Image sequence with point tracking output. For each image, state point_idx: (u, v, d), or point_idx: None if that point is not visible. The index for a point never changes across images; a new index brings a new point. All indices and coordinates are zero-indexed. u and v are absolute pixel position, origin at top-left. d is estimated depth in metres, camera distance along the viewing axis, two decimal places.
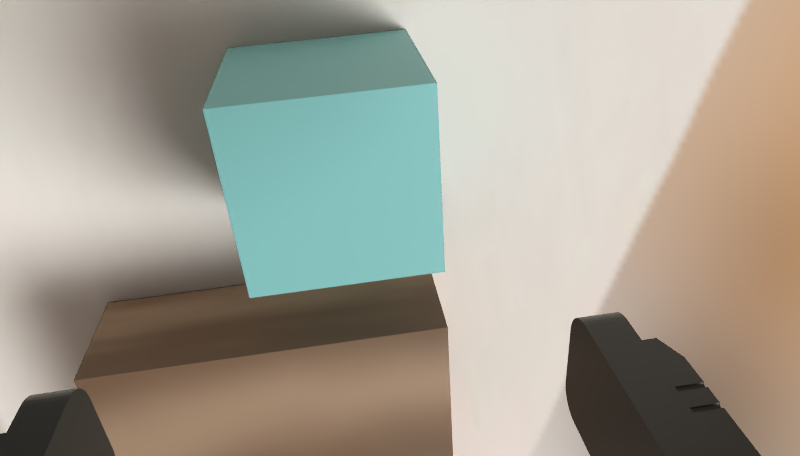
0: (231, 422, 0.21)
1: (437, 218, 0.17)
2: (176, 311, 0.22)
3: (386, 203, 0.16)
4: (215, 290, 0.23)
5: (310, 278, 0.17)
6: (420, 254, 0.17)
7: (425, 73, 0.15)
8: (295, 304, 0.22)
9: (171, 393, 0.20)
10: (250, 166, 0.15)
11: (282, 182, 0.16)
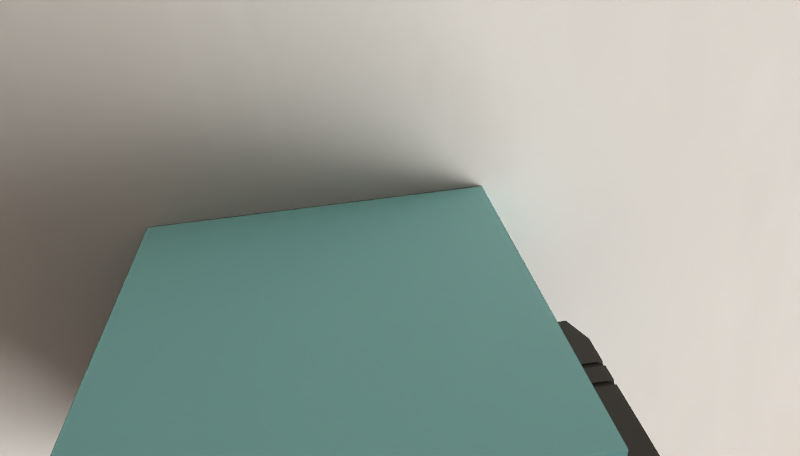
0: None
1: None
2: None
3: None
4: None
5: None
6: None
7: (580, 388, 0.06)
8: None
9: None
10: None
11: None
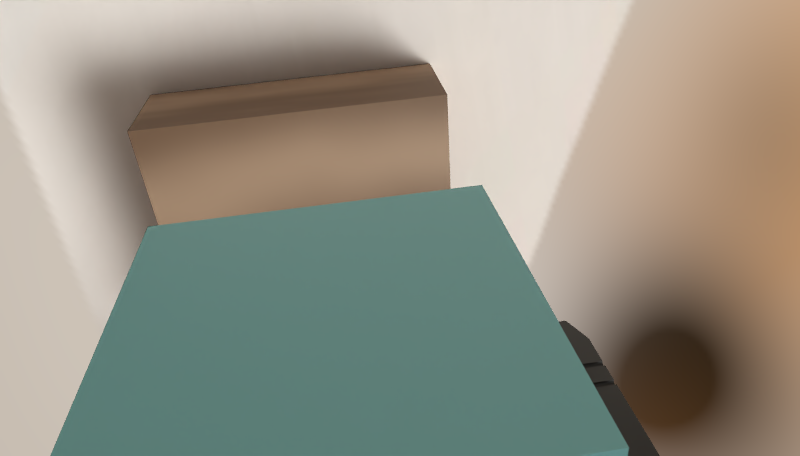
0: (260, 185, 0.25)
1: None
2: (210, 96, 0.26)
3: None
4: (243, 85, 0.26)
5: None
6: None
7: (580, 386, 0.06)
8: (314, 89, 0.25)
9: (209, 150, 0.24)
10: None
11: None
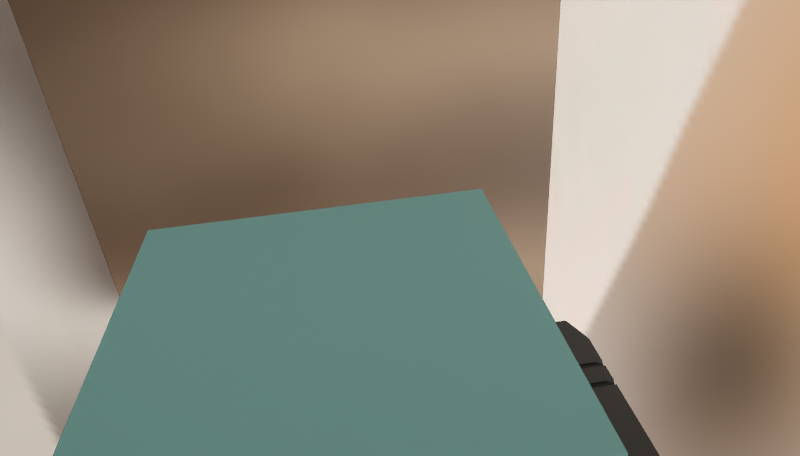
0: (241, 90, 0.15)
1: None
2: None
3: None
4: None
5: None
6: None
7: (580, 392, 0.06)
8: None
9: (150, 20, 0.14)
10: None
11: None
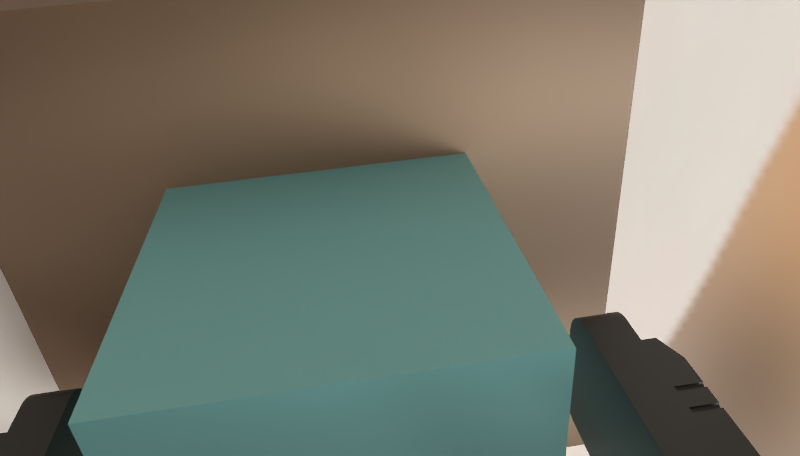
0: (218, 162, 0.11)
1: None
2: None
3: None
4: None
5: None
6: None
7: (540, 306, 0.08)
8: None
9: (94, 76, 0.10)
10: None
11: None
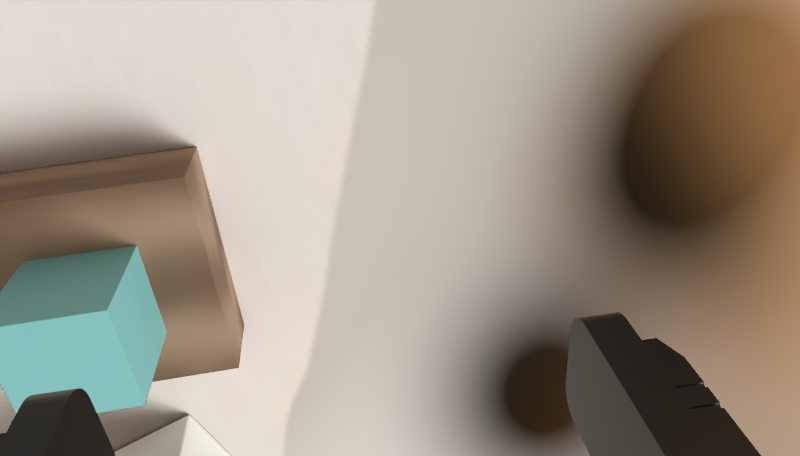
0: (41, 252, 0.30)
1: (130, 377, 0.28)
2: (6, 179, 0.31)
3: (95, 370, 0.28)
4: (39, 168, 0.32)
5: None
6: (125, 396, 0.28)
7: (108, 299, 0.27)
8: (90, 172, 0.31)
9: None
10: (6, 356, 0.27)
11: (27, 363, 0.27)
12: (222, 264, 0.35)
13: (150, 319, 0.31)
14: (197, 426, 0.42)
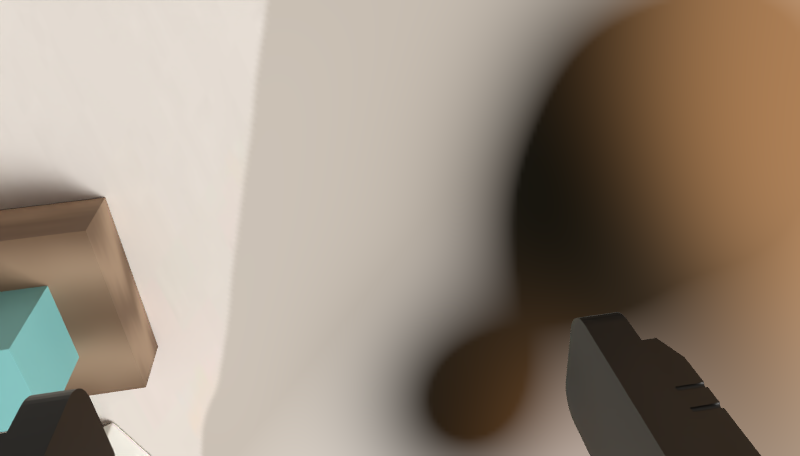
0: None
1: None
2: None
3: (2, 397, 0.33)
4: None
5: None
6: None
7: (12, 338, 0.32)
8: (8, 221, 0.36)
9: None
10: None
11: None
12: (132, 297, 0.40)
13: (60, 349, 0.36)
14: (120, 433, 0.47)
